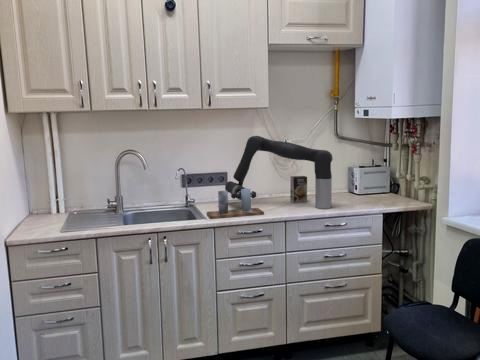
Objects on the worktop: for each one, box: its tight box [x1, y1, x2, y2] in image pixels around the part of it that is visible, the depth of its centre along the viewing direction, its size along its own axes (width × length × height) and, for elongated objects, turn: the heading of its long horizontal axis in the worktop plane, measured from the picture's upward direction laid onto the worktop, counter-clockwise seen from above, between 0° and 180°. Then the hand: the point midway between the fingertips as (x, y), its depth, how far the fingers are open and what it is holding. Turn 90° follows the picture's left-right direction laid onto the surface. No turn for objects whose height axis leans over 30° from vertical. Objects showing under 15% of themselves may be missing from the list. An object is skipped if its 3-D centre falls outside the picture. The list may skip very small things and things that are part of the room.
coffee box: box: [289, 175, 308, 204], centre depth 272 cm, size 9×6×16 cm
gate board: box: [206, 190, 265, 220], centre depth 242 cm, size 30×12×14 cm, turn 104°
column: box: [240, 188, 252, 212], centre depth 243 cm, size 5×5×12 cm
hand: (246, 197), depth 241 cm, fingers open, 7 cm apart
